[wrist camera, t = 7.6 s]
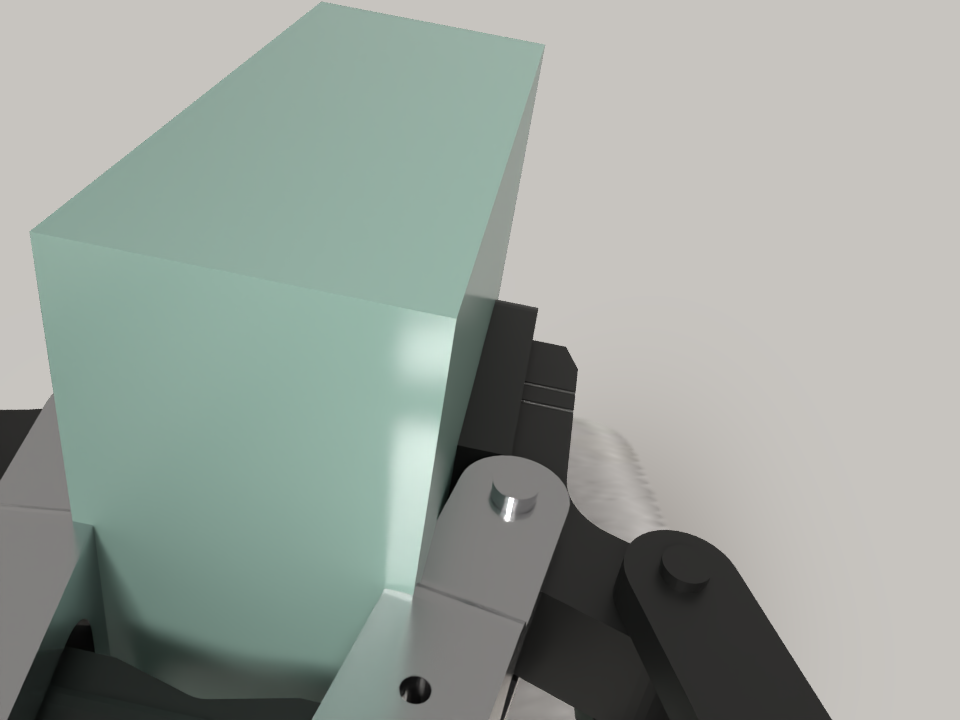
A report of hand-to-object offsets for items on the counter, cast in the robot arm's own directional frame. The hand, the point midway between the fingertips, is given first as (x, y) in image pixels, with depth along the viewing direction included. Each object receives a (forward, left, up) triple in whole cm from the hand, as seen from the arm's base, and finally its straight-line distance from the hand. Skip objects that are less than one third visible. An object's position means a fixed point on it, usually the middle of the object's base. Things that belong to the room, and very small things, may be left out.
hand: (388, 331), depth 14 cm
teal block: (0, -3, -6) cm, 6 cm away
